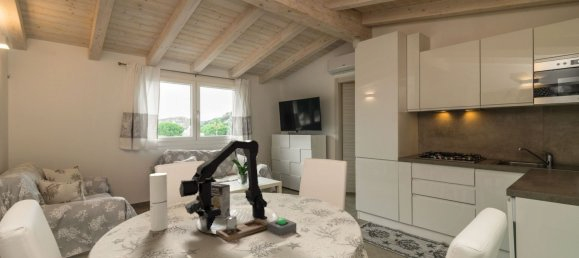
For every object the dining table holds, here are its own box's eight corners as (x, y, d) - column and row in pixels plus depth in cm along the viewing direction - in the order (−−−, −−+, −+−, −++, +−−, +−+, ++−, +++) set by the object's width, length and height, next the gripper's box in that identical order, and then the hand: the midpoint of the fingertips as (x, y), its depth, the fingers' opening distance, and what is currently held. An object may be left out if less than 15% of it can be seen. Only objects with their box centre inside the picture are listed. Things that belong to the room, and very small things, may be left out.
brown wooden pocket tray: (216, 236, 113) (216, 230, 113) (255, 224, 127) (255, 219, 127) (227, 243, 106) (227, 237, 106) (268, 230, 119) (268, 224, 119)
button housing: (267, 232, 117) (267, 222, 117) (283, 226, 123) (282, 218, 123) (280, 238, 110) (280, 228, 110) (296, 232, 116) (296, 223, 116)
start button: (275, 224, 117) (275, 219, 117) (282, 221, 120) (282, 217, 120) (281, 226, 114) (281, 221, 114) (288, 224, 117) (288, 219, 117)
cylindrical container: (160, 231, 119) (159, 175, 119) (146, 230, 121) (145, 175, 121) (171, 225, 126) (170, 173, 126) (157, 224, 128) (156, 172, 128)
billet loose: (199, 231, 119) (198, 215, 119) (208, 228, 122) (208, 213, 122) (203, 234, 116) (202, 218, 116) (212, 231, 118) (212, 215, 118)
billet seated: (224, 234, 113) (224, 217, 113) (233, 231, 116) (233, 215, 116) (229, 237, 110) (229, 220, 109) (238, 234, 112) (238, 217, 112)
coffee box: (209, 215, 140) (208, 185, 140) (217, 212, 146) (217, 182, 145) (222, 218, 136) (221, 186, 136) (230, 214, 141) (230, 184, 141)
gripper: (179, 192, 120) (179, 227, 120) (195, 200, 106) (196, 239, 106) (203, 188, 128) (203, 221, 128) (221, 195, 114) (222, 232, 114)
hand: (205, 228), depth 119 cm, fingers open, 5 cm apart
